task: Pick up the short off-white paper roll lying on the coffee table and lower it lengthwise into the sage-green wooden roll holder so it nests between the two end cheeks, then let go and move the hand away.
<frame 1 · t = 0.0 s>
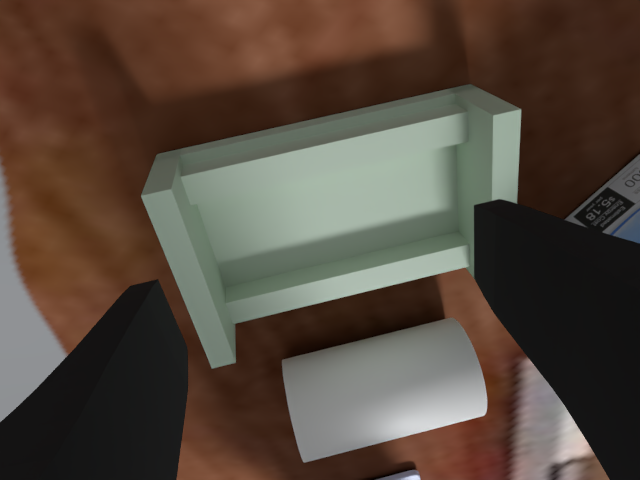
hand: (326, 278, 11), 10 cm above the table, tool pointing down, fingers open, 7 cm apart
holder: (332, 205, 21), on the table
roll: (379, 387, 24), point 2 cm above the table
light bulb box: (585, 254, 26), on the table
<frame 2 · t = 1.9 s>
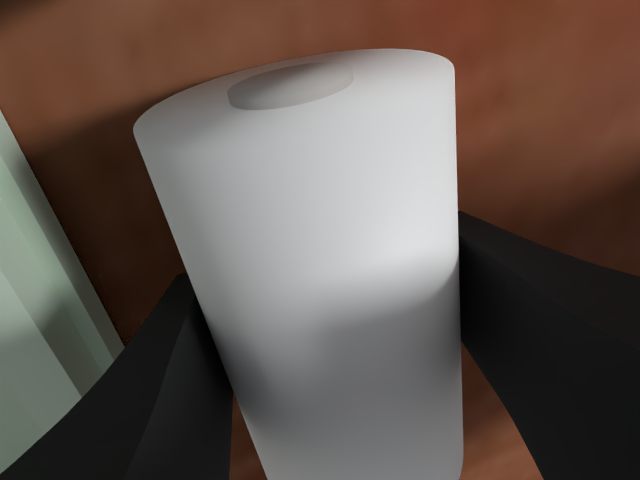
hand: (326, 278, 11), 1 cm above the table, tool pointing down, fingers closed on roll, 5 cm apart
roll: (334, 306, 10), point 2 cm above the table, touching gripper
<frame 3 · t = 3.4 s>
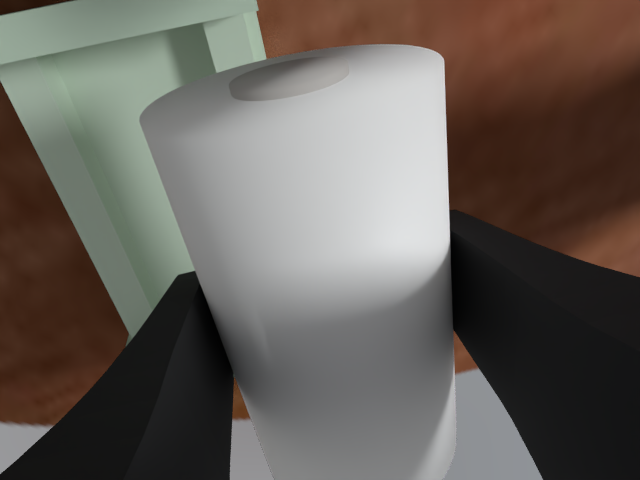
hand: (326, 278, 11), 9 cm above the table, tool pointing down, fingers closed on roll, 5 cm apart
holder: (184, 181, 18), on the table
roll: (331, 292, 10), point 9 cm above the table, tilted 5°, touching gripper
when the fingers open (4 cm above the table, at t = 5.1 s): roll stays where it is, resting on holder.
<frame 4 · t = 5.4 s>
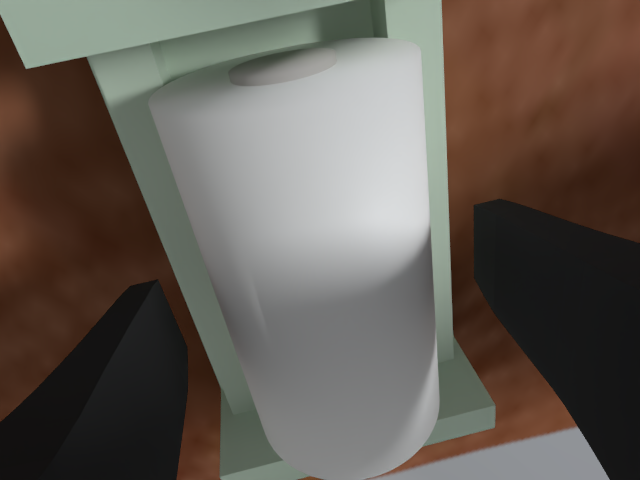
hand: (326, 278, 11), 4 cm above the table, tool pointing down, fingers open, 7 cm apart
holder: (304, 207, 14), on the table
roll: (322, 267, 11), point 3 cm above the table, touching holder
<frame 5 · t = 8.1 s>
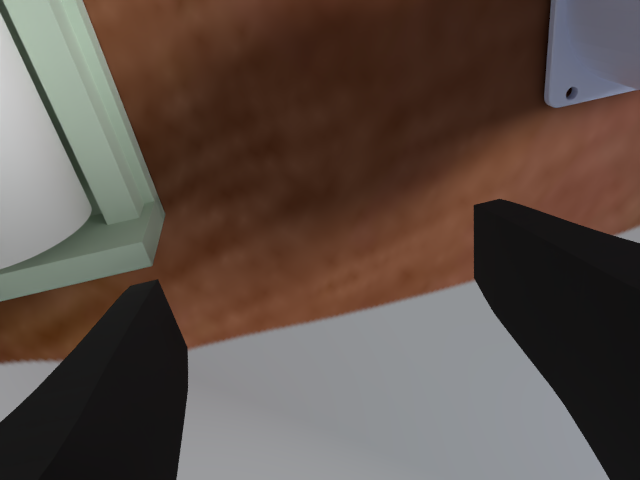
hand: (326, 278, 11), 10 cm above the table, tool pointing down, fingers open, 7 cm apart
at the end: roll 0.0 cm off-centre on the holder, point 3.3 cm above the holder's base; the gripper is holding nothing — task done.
